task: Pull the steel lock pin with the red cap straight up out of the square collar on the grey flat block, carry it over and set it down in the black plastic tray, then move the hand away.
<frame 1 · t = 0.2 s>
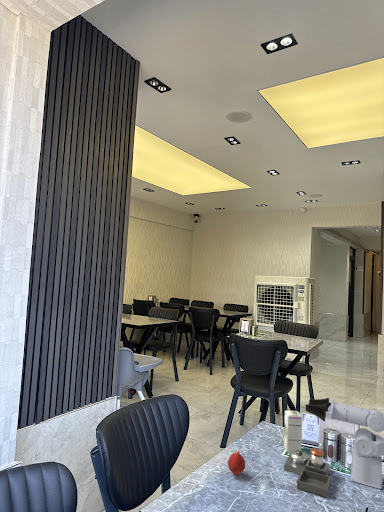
hand: (307, 404, 134), 21 cm above the table, tool horizontal, fingers open, 7 cm apart
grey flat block: (306, 470, 128), on the table
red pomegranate: (235, 475, 121), on the table
tray: (313, 486, 117), on the table
lock pin: (316, 468, 125), point 2 cm above the table, touching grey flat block
syrup box: (292, 450, 143), on the table
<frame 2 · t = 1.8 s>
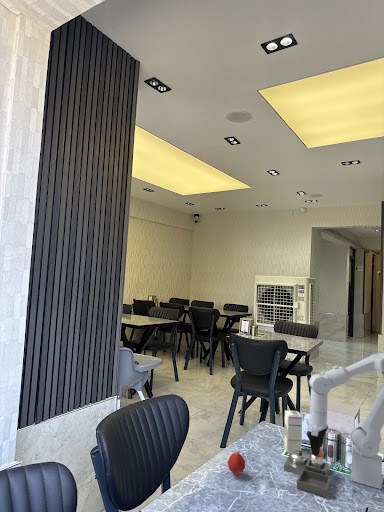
hand: (317, 450, 125), 8 cm above the table, tool pointing down, fingers open, 7 cm apart
nothing on the table moved.
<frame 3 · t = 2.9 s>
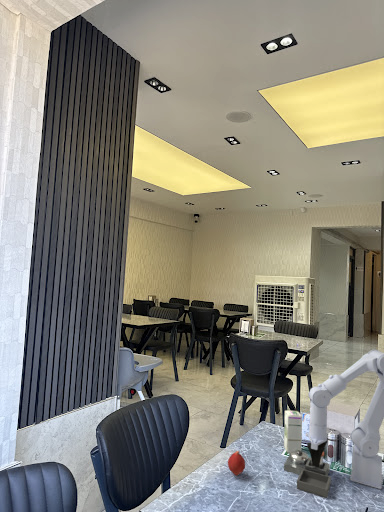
hand: (316, 463, 125), 4 cm above the table, tool pointing down, fingers closed on lock pin, 4 cm apart
lock pin: (316, 468, 125), point 2 cm above the table, touching gripper, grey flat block
everything else where it was.
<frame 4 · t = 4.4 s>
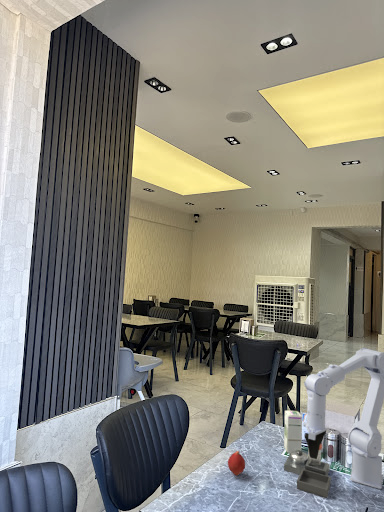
hand: (314, 454, 118), 10 cm above the table, tool pointing down, fingers closed on lock pin, 4 cm apart
lock pin: (314, 462, 118), point 7 cm above the table, touching gripper
everything else where it was.
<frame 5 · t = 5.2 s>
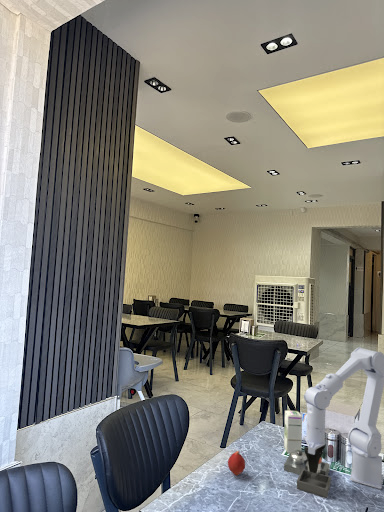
hand: (314, 468, 117), 6 cm above the table, tool pointing down, fingers closed on lock pin, 4 cm apart
lock pin: (313, 475, 118), point 3 cm above the table, touching gripper
everything else where it was.
when the fingers open (4 cm above the table, at t = 6.0 s): lock pin stays where it is, resting on tray.
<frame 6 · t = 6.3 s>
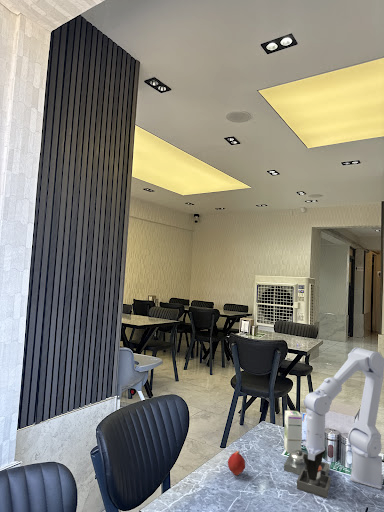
hand: (314, 474, 117), 4 cm above the table, tool pointing down, fingers open, 7 cm apart
lock pin: (313, 484, 117), resting on tray
everything else where it was.
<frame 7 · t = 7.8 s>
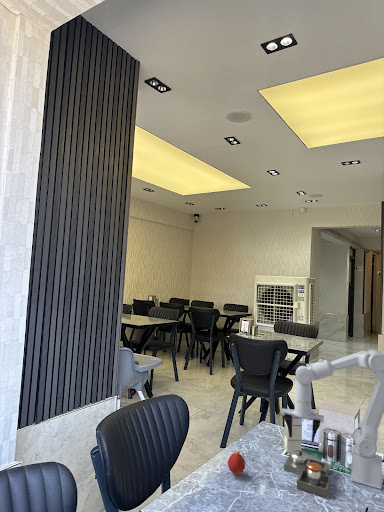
hand: (301, 438, 130), 10 cm above the table, tool pointing down, fingers open, 7 cm apart
nothing on the table moved.
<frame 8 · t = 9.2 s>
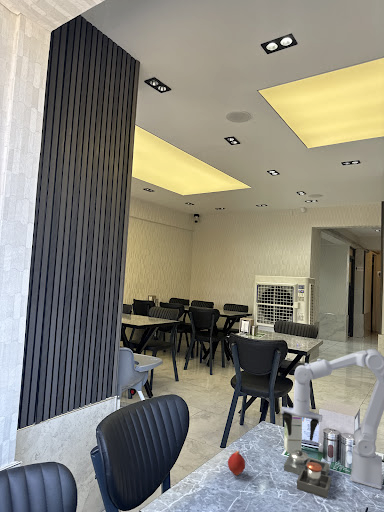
hand: (300, 437, 131), 10 cm above the table, tool pointing down, fingers open, 7 cm apart
nothing on the table moved.
at the end: lock pin inside the target area on the tray (0.4 cm from its centre), point 0.5 cm above the tray's base; lock pin touching tray; the gripper is holding nothing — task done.
